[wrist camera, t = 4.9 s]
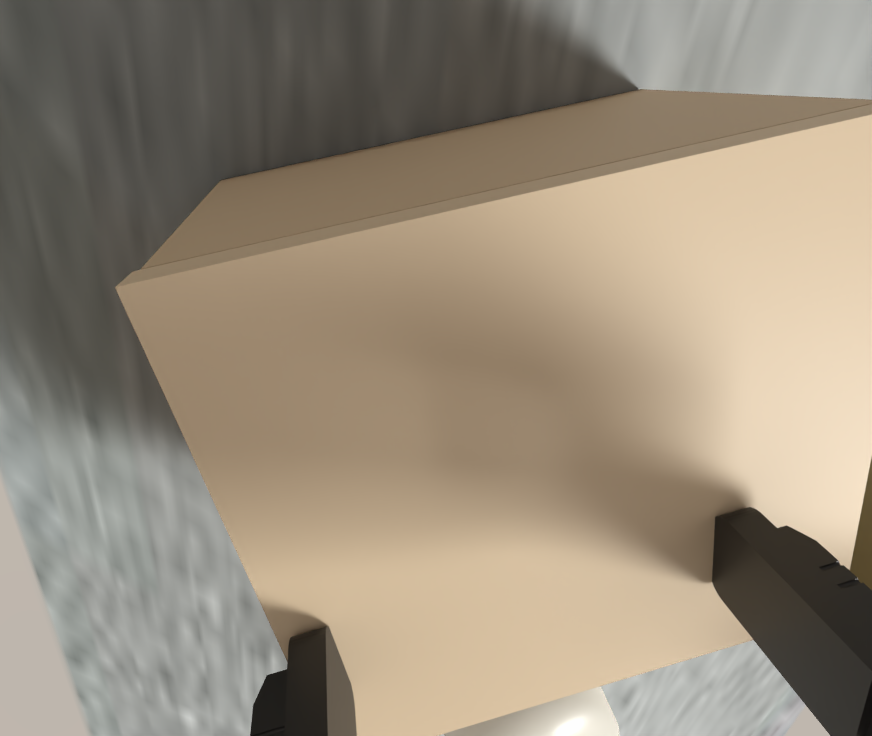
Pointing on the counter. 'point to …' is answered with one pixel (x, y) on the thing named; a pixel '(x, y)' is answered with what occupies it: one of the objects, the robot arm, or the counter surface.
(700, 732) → the counter surface
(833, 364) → the lid
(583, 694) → the rounded white cylinder
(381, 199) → the cardboard box
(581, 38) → the counter surface
